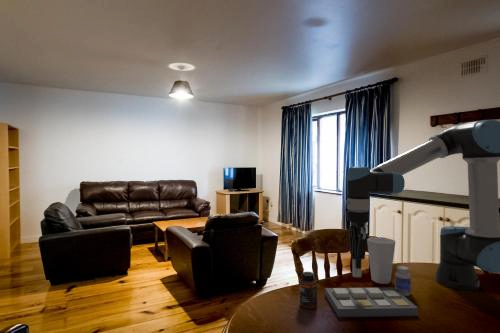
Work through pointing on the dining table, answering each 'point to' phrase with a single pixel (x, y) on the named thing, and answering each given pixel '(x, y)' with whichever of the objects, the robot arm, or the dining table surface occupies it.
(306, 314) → the dining table surface
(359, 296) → the button
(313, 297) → the supplement bottle
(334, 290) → the button
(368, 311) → the board
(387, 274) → the cup
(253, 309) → the dining table surface
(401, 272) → the pill bottle
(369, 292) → the button
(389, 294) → the button
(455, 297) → the dining table surface
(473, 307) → the dining table surface
